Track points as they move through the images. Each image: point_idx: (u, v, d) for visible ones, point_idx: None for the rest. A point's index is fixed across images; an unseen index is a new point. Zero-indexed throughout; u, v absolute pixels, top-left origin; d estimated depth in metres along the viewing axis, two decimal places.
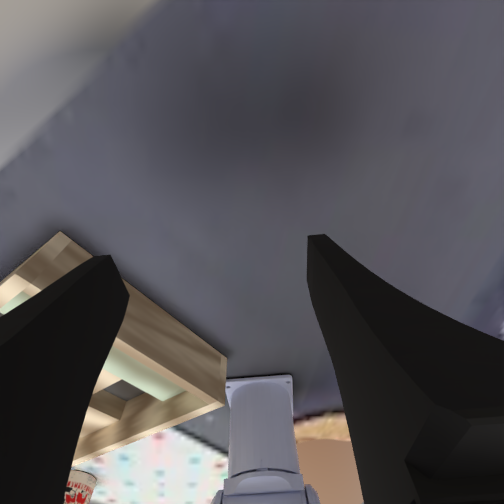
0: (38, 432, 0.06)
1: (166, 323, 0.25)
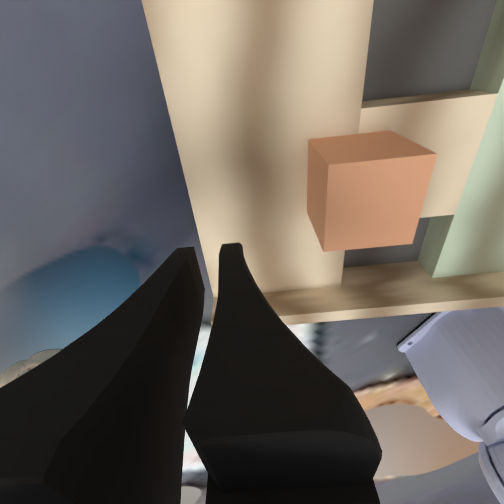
0: (165, 423, 0.06)
1: None
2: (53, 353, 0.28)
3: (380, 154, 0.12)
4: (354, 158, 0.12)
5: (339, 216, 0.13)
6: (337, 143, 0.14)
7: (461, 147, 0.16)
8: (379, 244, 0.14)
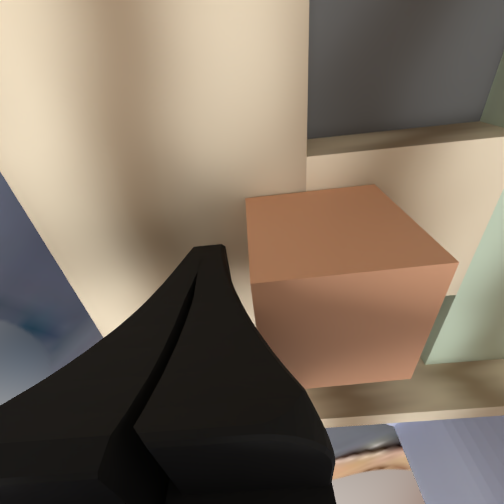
0: None
1: None
2: None
3: (351, 256, 0.06)
4: (302, 265, 0.06)
5: (284, 351, 0.07)
6: (285, 213, 0.09)
7: (467, 210, 0.10)
8: (356, 381, 0.08)
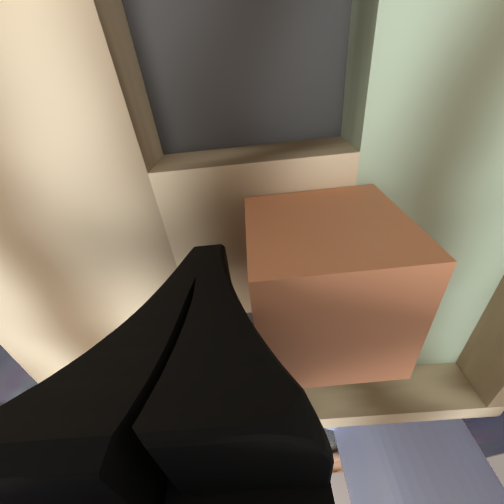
0: None
1: None
2: None
3: (349, 255, 0.06)
4: (299, 264, 0.06)
5: (282, 350, 0.07)
6: (284, 212, 0.09)
7: None
8: (355, 381, 0.08)
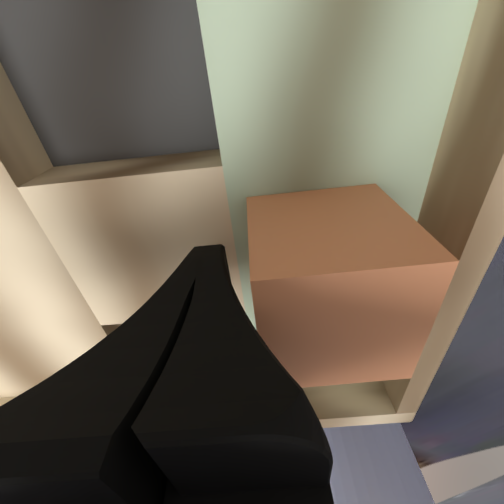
0: None
1: None
2: None
3: (351, 255, 0.06)
4: (301, 263, 0.06)
5: (284, 349, 0.07)
6: (286, 212, 0.09)
7: (207, 235, 0.11)
8: (356, 380, 0.08)
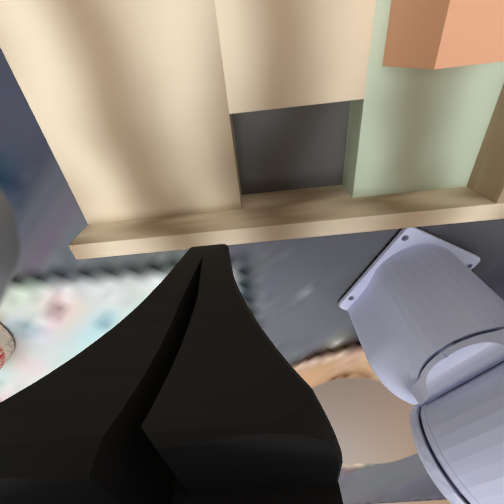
0: None
1: None
2: None
3: None
4: None
5: None
6: None
7: None
8: None
